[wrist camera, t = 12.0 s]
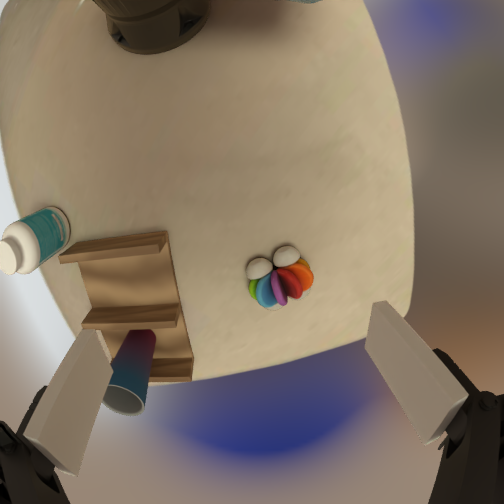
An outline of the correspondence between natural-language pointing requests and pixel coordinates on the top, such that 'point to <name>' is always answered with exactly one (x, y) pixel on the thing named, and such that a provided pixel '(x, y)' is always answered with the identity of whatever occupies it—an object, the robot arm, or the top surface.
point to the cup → (131, 373)
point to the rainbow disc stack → (279, 278)
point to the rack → (136, 298)
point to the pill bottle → (33, 240)
